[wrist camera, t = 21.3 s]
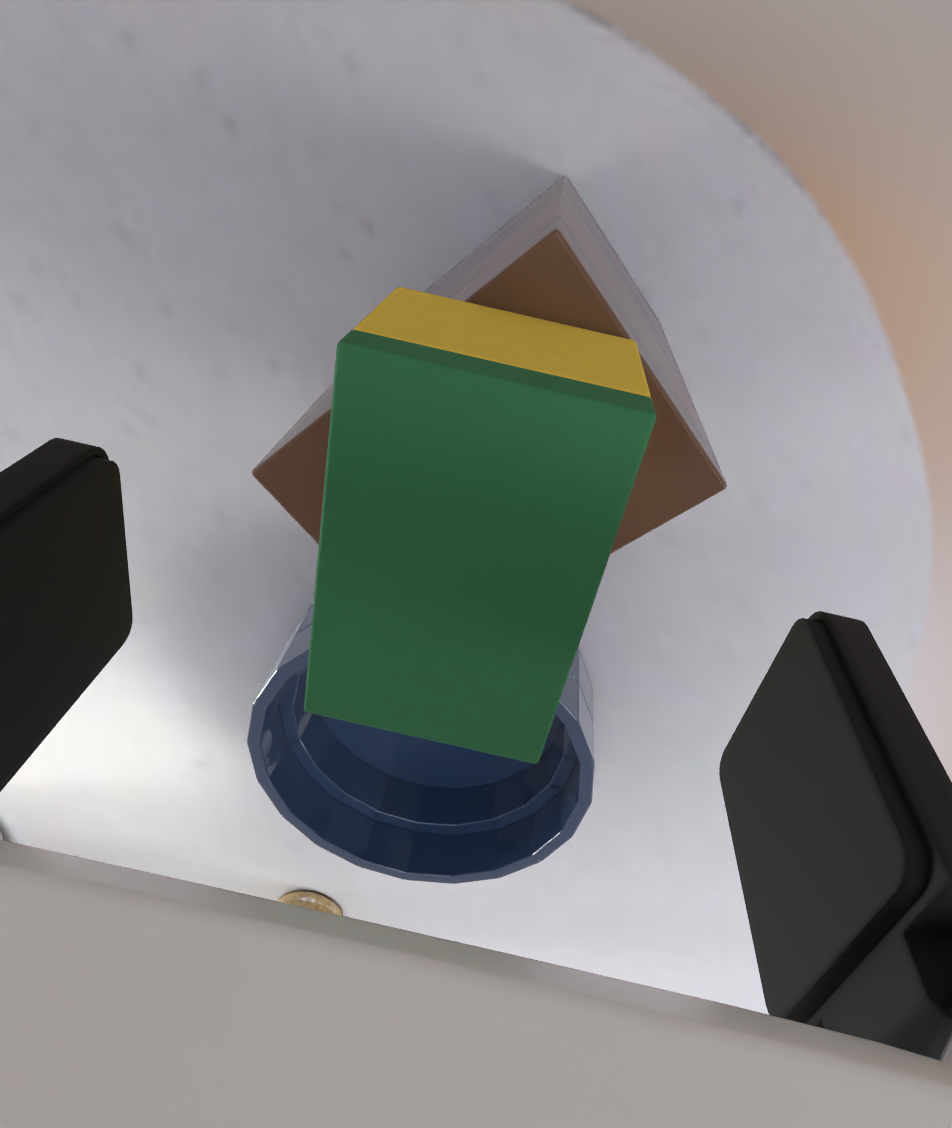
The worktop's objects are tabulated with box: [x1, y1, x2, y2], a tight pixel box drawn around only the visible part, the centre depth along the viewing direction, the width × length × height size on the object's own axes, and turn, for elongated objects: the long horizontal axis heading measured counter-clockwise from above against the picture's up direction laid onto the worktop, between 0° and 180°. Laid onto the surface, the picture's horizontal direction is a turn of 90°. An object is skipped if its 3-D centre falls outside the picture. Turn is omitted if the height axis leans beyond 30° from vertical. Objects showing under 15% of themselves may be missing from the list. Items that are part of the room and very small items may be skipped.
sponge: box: [304, 287, 656, 764], centre depth 14 cm, size 7×4×4 cm, turn 169°
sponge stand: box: [252, 176, 727, 554], centre depth 21 cm, size 8×6×14 cm
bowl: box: [247, 604, 594, 884], centre depth 35 cm, size 15×15×6 cm
